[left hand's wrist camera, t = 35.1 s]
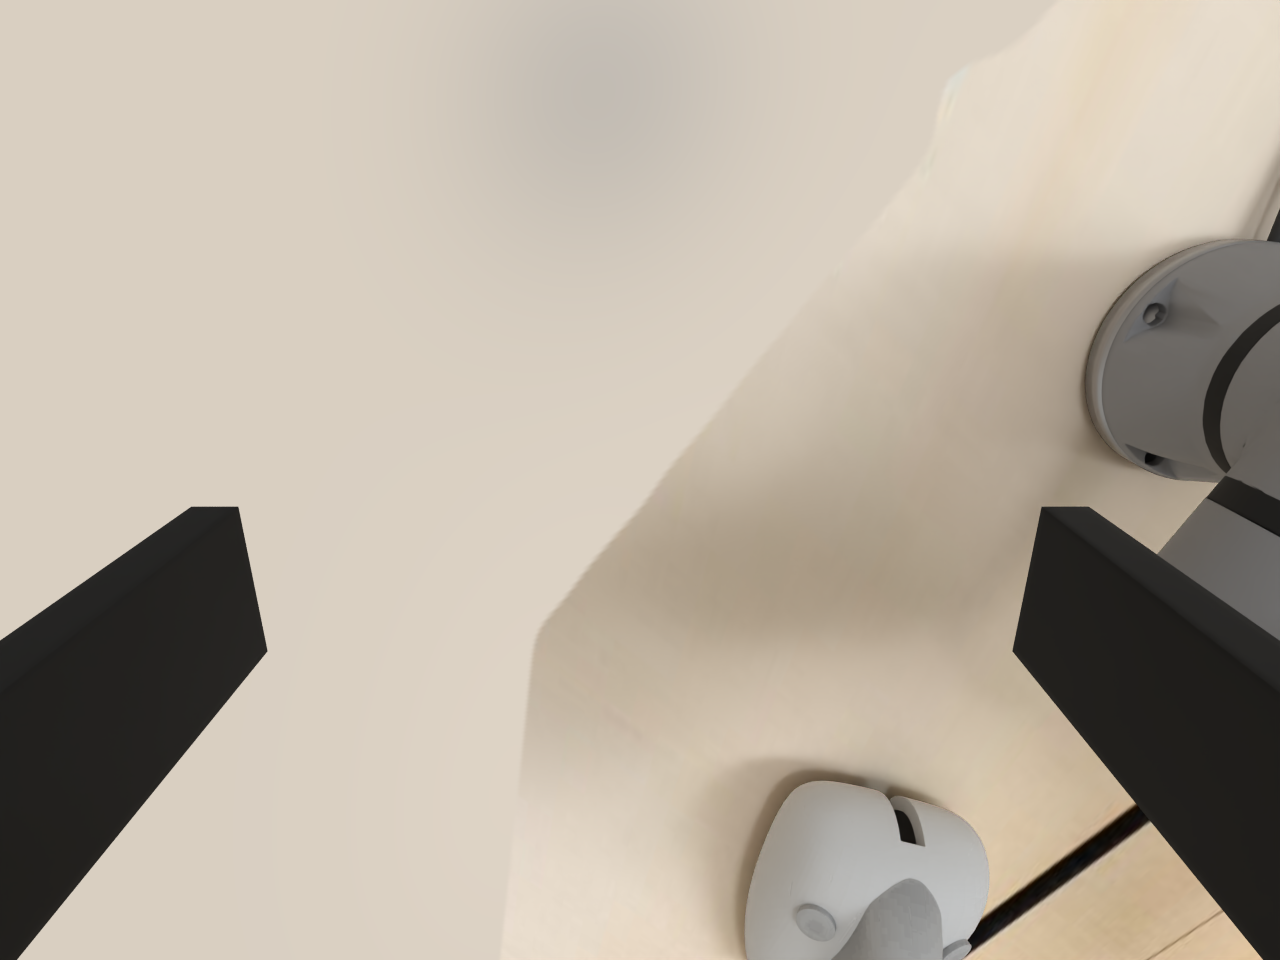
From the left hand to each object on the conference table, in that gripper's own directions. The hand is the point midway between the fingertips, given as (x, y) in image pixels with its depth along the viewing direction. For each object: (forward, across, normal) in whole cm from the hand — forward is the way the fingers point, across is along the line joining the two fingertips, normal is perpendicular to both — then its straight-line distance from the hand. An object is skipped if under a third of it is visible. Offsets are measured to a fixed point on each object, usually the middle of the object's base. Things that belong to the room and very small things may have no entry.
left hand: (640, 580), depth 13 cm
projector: (+38, +17, -48) cm, 64 cm away
